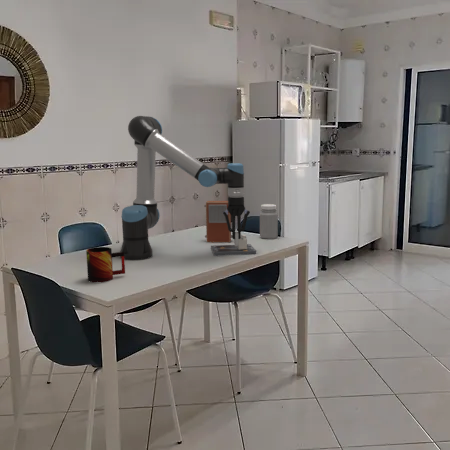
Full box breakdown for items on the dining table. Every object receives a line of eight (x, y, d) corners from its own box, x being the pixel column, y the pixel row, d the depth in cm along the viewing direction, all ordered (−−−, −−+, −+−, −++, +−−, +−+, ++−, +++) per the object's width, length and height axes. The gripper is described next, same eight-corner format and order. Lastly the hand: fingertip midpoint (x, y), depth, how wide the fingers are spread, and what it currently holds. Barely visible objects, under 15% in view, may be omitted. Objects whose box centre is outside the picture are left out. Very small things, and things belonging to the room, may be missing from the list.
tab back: (238, 246, 254) (238, 235, 253) (237, 244, 258) (237, 234, 257) (246, 245, 255) (246, 235, 254) (245, 244, 258) (245, 234, 257)
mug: (126, 276, 209) (124, 246, 207) (98, 284, 199) (97, 253, 196) (110, 272, 215) (108, 244, 213) (82, 280, 204) (81, 250, 202)
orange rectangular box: (205, 240, 280) (233, 240, 279) (203, 242, 273) (232, 242, 272) (204, 200, 276) (233, 200, 275) (203, 202, 270) (231, 202, 268)
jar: (257, 236, 287) (257, 204, 284) (273, 235, 290) (273, 203, 287) (263, 240, 278) (263, 206, 275) (280, 238, 281) (280, 205, 278)
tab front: (238, 249, 246) (238, 239, 245) (237, 247, 250) (237, 237, 249) (247, 249, 247) (246, 238, 246) (245, 247, 250) (245, 237, 249)
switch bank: (214, 255, 243) (214, 251, 243) (210, 248, 259) (210, 244, 258) (256, 254, 245) (256, 249, 245) (250, 247, 261) (250, 243, 261)
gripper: (223, 197, 239) (223, 248, 243) (251, 196, 241) (251, 246, 245) (221, 196, 246) (222, 244, 250) (248, 195, 248) (248, 243, 252)
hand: (236, 245), depth 247 cm, fingers closed
